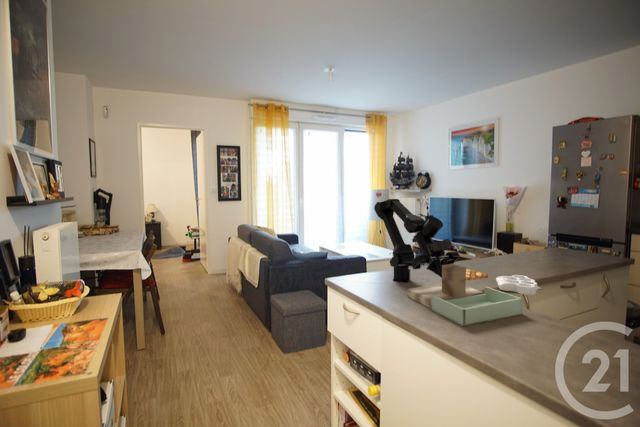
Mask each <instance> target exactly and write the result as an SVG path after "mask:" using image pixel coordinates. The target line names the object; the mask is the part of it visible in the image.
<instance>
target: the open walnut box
mask: <svg viewBox="0 0 640 427" xmlns="http://www.w3.org/2000/svg"><path fill="white" fill-rule="evenodd" d="M466 279H467V267H465V266H463V265H459V264H457V263H454V264H446V265H442V278H441V284H442V293H444V294H447V295H449V296H451V297H460V296H465V292H466V286H467V284H466V283H467V282H466V281H467V280H466Z"/></svg>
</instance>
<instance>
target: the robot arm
mask: <svg viewBox="0 0 640 427" xmlns="http://www.w3.org/2000/svg"><path fill="white" fill-rule="evenodd" d="M373 208H374V212H375V214H376V215H377V218H378V217H379V218H380V219H381V220H382V221H383V223H384V226H385V229H386V230H387V231H386V232H387V233H388V236H389V238H390V240H391V243H392V246H393V250H392V257H391V259H390V260H389V263H390V264H389V265H390V267H393V278H392V281H394V282H404V283H408V282H409V281H410V280H411V276H412V275H411V269H410V267H412V269H413V270H420V269H421V267H422V265H423V264H424V265H425V264H426V265H427V267H426V270H427V271H428V270H429V271H430V272H432V273H434V274H435V275H437V276H438V277H440V278H441V279H442V265H446V264H456V261H458V259H460V257H461V255H460V254H459V252H458V251H453V250H452V251H447V250H450V249H451V247H453V243H452V241H451V240H450V239H449V238H446V239H442V240H438V241H434V239H433V238H435V237H436V236H437V235H438V233H439V232H441V230H442V229H443V226H444V224H443V221H442V220H441V219H440V218H438V217H435V216H434V215H431V214H430V215H429V214H428V216H427V217H426V219H424V218H422V217H421V216H419V215H417V214H413V213H412V212H411V211H410V210H409V209H408V208H407V207H406V206H405V205H404V204H403V203H402V202H401V201H400V199H398V198H388V199H387V200H384V201H377V202H376V203H375V205H374V207H373ZM394 215H397V216H398V218H399V219H400V220H402V222H403V227H404V229H405V230H406V231H407V232H408V233H409V234H415V235H413V238H412V244H413V243H417V245H418V247H419V249H420V251H419V253H420V254H417V255H416V256H415V254H414V253H415V251H414V250H413V247H412V244H410V243H408V244H407V243H405V241H404V238H403V236H402V234H401V231H400V230H399V227H398V224H397V222H396V220H395V217H394ZM445 251H447V252H446V253H445ZM444 253H445V255H444Z"/></svg>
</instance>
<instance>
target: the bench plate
mask: <svg viewBox="0 0 640 427" xmlns="http://www.w3.org/2000/svg"><path fill="white" fill-rule="evenodd" d="M480 294H484V291H481V290H479V289H476V288H473V287H470V286H467V285H466V292H465V296H460V297H451V296H449V295H447V294H444V293H442V283H438V284H431V285H426V286H419V287H411V288H407V298H410V299H412V300H413V301H415V302H417V303H419V304H422V305H423V306H425V307H427V308H429V309H431V296H432V295H434V296H436V297H438V298H441V299H443V300H451V299H457V298H462V297H468V296H474V295H480Z"/></svg>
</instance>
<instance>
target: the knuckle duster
mask: <svg viewBox="0 0 640 427" xmlns="http://www.w3.org/2000/svg"><path fill="white" fill-rule="evenodd" d="M495 281H496V283H497V286H498V288H499V289H500V290H501V291H506V292H507V291H508V292H515V293H518V294H520V295H526V296H534V295H536V293H537V291H538V290H541V289H542V287H540V286H538V283H537V282H536V280H535V279H532V278H530V277H528V276H527V275H522V274H521V275H520V274H512V275H500V276H499V275H498V276H497V277H496V278H495Z"/></svg>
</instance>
